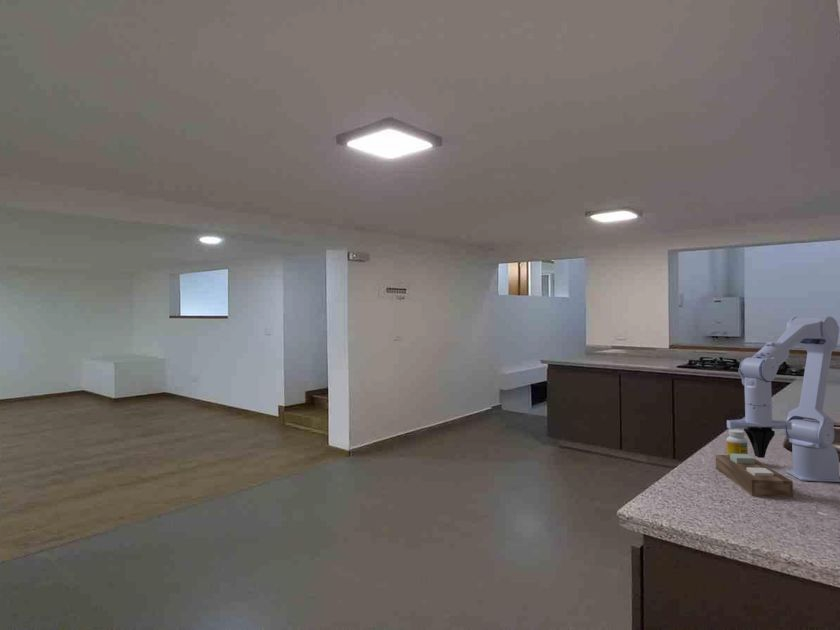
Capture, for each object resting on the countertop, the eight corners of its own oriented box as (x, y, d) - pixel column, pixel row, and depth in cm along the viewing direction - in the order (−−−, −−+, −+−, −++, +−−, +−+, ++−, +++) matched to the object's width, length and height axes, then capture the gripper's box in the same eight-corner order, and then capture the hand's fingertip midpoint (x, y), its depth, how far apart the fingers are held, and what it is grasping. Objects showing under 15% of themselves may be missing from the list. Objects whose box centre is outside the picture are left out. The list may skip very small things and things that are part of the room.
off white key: (765, 479, 127) (765, 467, 127) (774, 485, 123) (773, 473, 123) (746, 478, 128) (746, 467, 128) (754, 484, 123) (754, 472, 124)
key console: (750, 469, 140) (749, 455, 140) (793, 497, 118) (792, 481, 118) (716, 468, 142) (715, 454, 142) (752, 495, 120) (751, 479, 120)
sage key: (747, 464, 137) (747, 453, 137) (754, 469, 132) (754, 458, 132) (730, 464, 138) (729, 453, 138) (737, 468, 133) (736, 458, 133)
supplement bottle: (732, 458, 151) (731, 427, 151) (751, 462, 146) (750, 431, 146) (723, 461, 148) (722, 430, 148) (743, 466, 143) (742, 433, 143)
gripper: (779, 401, 128) (781, 452, 128) (720, 401, 130) (722, 451, 130) (796, 406, 121) (797, 460, 121) (733, 406, 123) (735, 459, 123)
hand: (759, 456), depth 125 cm, fingers closed
